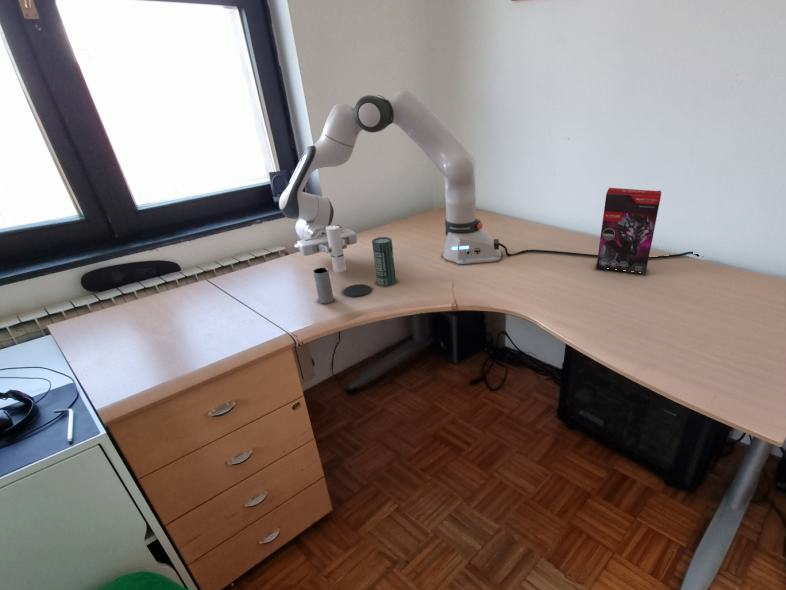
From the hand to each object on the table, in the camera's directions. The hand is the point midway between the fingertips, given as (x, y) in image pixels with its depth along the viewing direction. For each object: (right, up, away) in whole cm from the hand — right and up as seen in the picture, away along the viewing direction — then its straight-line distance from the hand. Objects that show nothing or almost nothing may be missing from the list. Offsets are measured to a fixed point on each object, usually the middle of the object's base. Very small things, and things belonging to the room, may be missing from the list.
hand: (337, 248), depth 154 cm
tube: (0, -7, +5) cm, 8 cm away
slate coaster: (+7, -15, -2) cm, 17 cm away
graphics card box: (+99, -6, +9) cm, 100 cm away
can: (+16, -11, +4) cm, 20 cm away
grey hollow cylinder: (-1, -19, -8) cm, 20 cm away
